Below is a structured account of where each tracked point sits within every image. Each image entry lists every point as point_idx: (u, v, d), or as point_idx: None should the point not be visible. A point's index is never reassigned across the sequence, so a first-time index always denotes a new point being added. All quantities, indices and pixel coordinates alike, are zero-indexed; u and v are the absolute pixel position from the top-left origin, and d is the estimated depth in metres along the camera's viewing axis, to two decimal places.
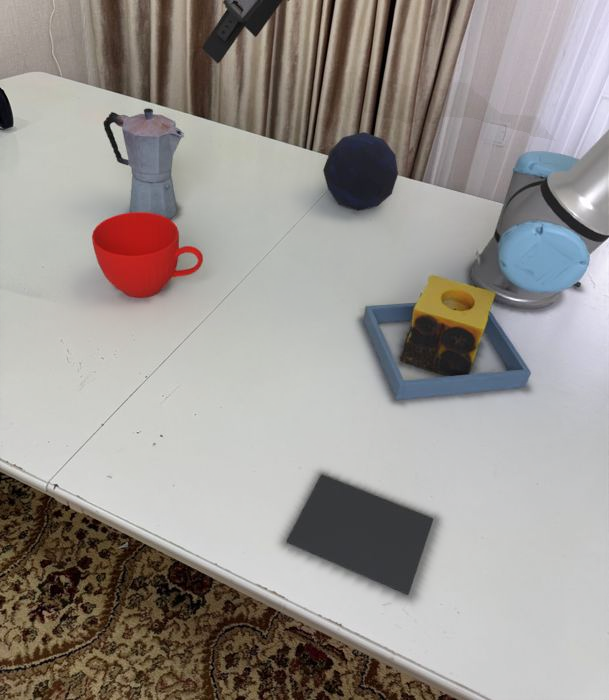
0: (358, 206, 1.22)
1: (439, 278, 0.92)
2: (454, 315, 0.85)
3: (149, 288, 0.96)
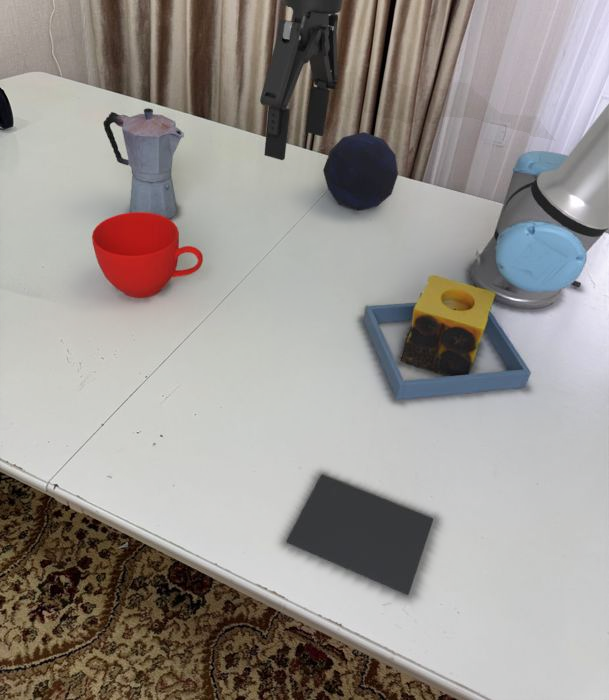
0: (358, 206, 1.22)
1: (439, 278, 0.92)
2: (455, 315, 0.85)
3: (149, 288, 0.96)
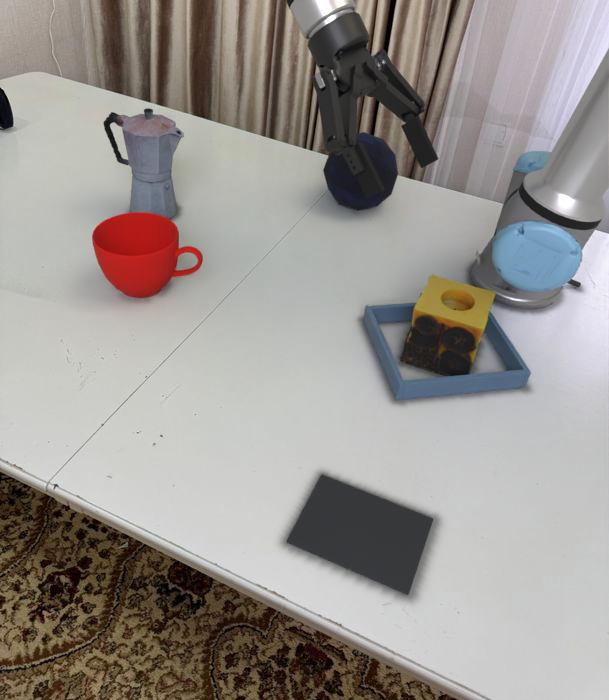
0: (358, 206, 1.22)
1: (439, 278, 0.92)
2: (455, 315, 0.85)
3: (149, 288, 0.96)
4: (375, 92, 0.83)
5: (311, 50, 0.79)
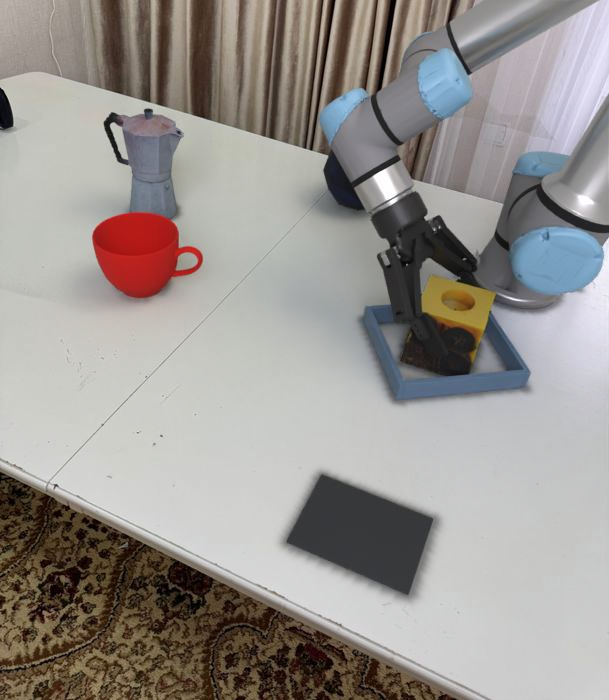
0: (358, 206, 1.22)
1: (439, 278, 0.92)
2: (455, 315, 0.85)
3: (149, 288, 0.96)
4: (432, 255, 0.90)
5: (374, 224, 0.86)
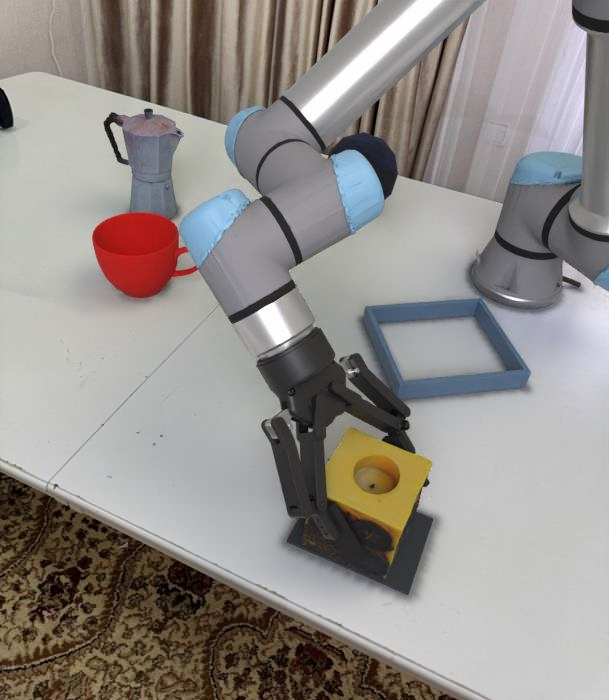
0: None
1: (359, 434, 0.67)
2: (365, 502, 0.61)
3: (149, 288, 0.96)
4: (346, 408, 0.66)
5: (261, 373, 0.62)
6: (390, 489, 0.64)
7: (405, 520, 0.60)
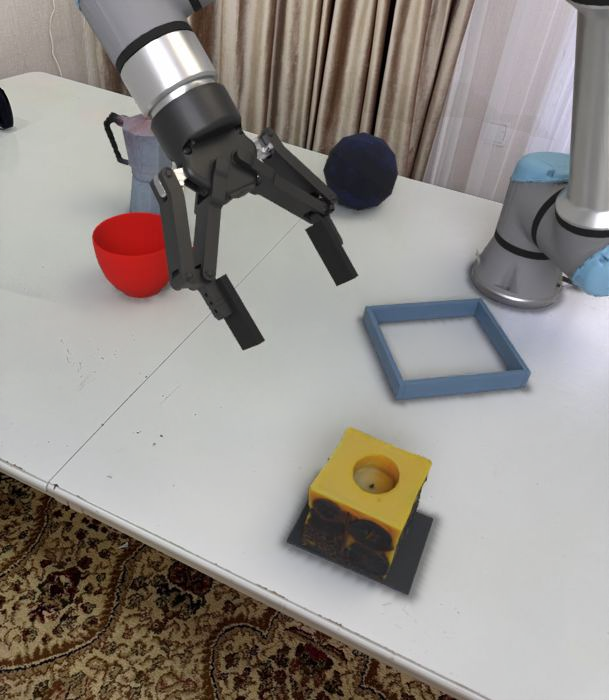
0: (358, 206, 1.22)
1: (359, 434, 0.67)
2: (365, 502, 0.61)
3: (149, 288, 0.96)
4: (260, 189, 0.58)
5: (156, 138, 0.55)
6: (390, 489, 0.64)
7: (405, 520, 0.60)
